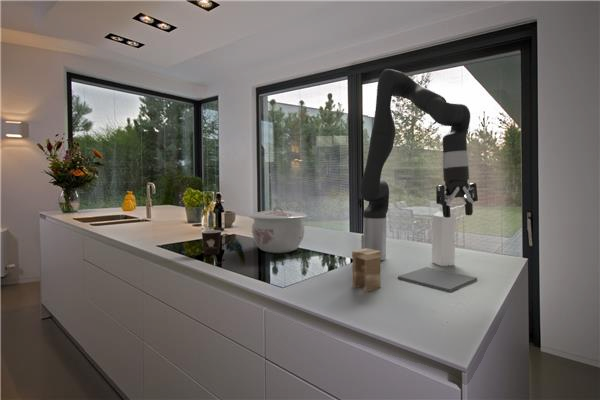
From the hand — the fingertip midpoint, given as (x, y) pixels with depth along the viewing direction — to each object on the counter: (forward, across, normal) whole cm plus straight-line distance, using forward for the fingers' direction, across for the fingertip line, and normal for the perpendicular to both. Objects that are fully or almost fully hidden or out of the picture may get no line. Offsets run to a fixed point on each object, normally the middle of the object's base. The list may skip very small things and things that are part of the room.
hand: (458, 216), depth 112 cm
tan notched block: (+20, +32, -4) cm, 38 cm away
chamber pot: (+16, +44, -66) cm, 81 cm away
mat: (+21, +6, -4) cm, 22 cm away
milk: (+21, -10, -20) cm, 31 cm away
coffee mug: (+15, +74, -68) cm, 101 cm away
